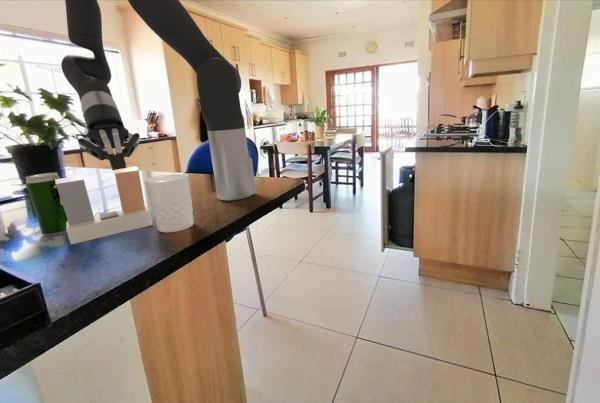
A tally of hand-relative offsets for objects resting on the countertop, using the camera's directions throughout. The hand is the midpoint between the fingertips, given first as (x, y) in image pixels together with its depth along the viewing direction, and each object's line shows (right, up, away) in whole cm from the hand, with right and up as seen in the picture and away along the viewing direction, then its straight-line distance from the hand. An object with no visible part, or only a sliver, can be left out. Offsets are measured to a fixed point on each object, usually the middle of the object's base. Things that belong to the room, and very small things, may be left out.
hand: (120, 170), depth 70 cm
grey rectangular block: (-2, -10, -10) cm, 14 cm away
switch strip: (+2, -13, -6) cm, 14 cm away
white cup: (+15, -12, -7) cm, 21 cm away
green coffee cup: (-10, -13, -5) cm, 17 cm away
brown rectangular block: (+6, -8, -5) cm, 11 cm away
